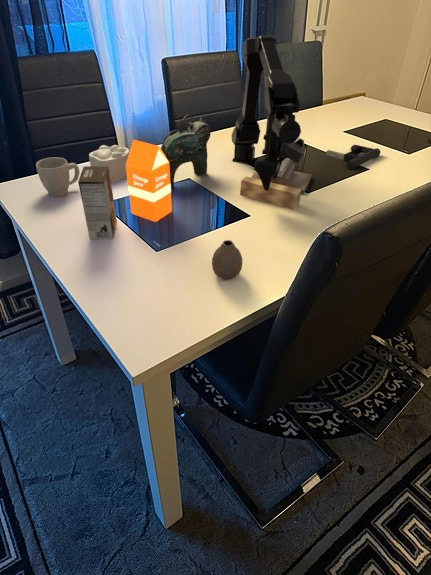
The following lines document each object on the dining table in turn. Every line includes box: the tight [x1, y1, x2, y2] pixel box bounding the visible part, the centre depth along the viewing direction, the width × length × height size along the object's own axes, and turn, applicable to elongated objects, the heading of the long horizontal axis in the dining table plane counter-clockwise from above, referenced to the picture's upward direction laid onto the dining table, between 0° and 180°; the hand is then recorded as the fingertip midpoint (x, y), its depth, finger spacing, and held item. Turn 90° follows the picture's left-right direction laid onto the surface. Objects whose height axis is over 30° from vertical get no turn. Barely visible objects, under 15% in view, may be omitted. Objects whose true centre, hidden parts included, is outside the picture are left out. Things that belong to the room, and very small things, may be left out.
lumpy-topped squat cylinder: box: [88, 144, 130, 183], centre depth 137 cm, size 10×13×9 cm
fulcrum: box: [250, 158, 313, 195], centre depth 135 cm, size 18×13×6 cm
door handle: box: [325, 144, 381, 170], centre depth 154 cm, size 3×20×16 cm
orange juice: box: [126, 139, 173, 223], centre depth 113 cm, size 8×9×20 cm
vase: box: [211, 239, 243, 281], centre depth 94 cm, size 7×7×9 cm
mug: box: [35, 156, 81, 198], centre depth 125 cm, size 12×9×10 cm
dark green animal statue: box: [160, 114, 211, 188], centre depth 131 cm, size 20×6×20 cm, turn 135°
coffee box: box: [77, 165, 118, 240], centre depth 106 cm, size 9×6×16 cm
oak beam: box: [239, 176, 302, 210], centre depth 125 cm, size 18×4×5 cm, turn 61°
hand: (270, 184), depth 124 cm, fingers open, 9 cm apart
